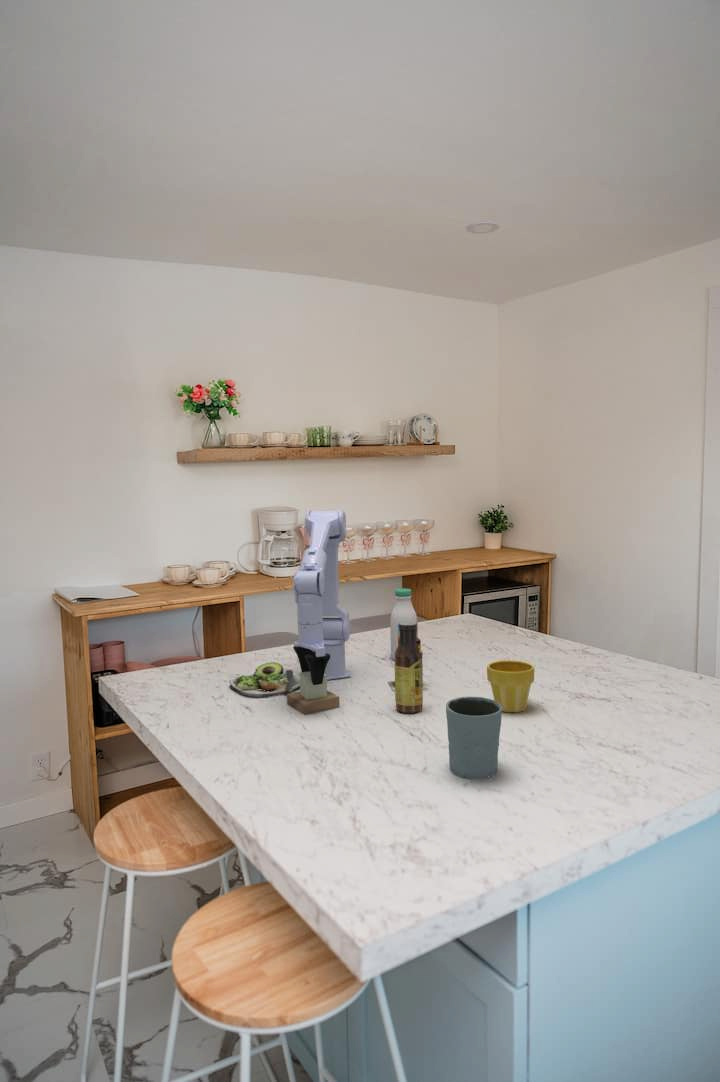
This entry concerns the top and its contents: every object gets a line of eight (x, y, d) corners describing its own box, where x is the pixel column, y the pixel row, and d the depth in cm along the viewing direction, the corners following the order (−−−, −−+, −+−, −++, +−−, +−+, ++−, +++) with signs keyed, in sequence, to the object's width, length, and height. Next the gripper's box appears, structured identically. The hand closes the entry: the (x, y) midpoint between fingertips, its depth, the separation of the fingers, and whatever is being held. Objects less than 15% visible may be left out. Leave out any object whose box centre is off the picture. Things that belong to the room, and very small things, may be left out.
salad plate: (319, 692, 180) (319, 673, 179) (252, 706, 171) (252, 687, 170) (286, 673, 196) (285, 657, 196) (223, 685, 187) (222, 668, 187)
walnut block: (287, 706, 170) (286, 694, 170) (320, 699, 175) (320, 686, 175) (305, 717, 163) (304, 704, 162) (339, 709, 167) (339, 696, 167)
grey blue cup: (465, 753, 139) (464, 692, 138) (512, 766, 133) (512, 703, 131) (435, 772, 131) (434, 707, 130) (485, 786, 125) (484, 719, 123)
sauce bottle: (421, 715, 161) (419, 627, 158) (393, 713, 162) (391, 626, 160) (424, 705, 167) (423, 620, 165) (397, 704, 168) (396, 620, 166)
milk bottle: (388, 661, 204) (386, 591, 202) (394, 654, 212) (393, 586, 209) (414, 663, 202) (413, 592, 200) (420, 655, 209) (419, 587, 207)
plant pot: (496, 697, 171) (496, 657, 170) (540, 704, 165) (540, 662, 164) (480, 711, 162) (480, 668, 161) (525, 718, 157) (525, 674, 156)
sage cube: (300, 693, 170) (299, 672, 169) (320, 690, 172) (319, 670, 171) (306, 699, 165) (305, 678, 165) (327, 696, 167) (326, 675, 166)
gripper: (284, 617, 172) (287, 673, 173) (302, 630, 158) (305, 691, 160) (313, 614, 174) (315, 669, 176) (333, 627, 161) (335, 686, 162)
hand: (312, 679), depth 168 cm, fingers open, 7 cm apart
